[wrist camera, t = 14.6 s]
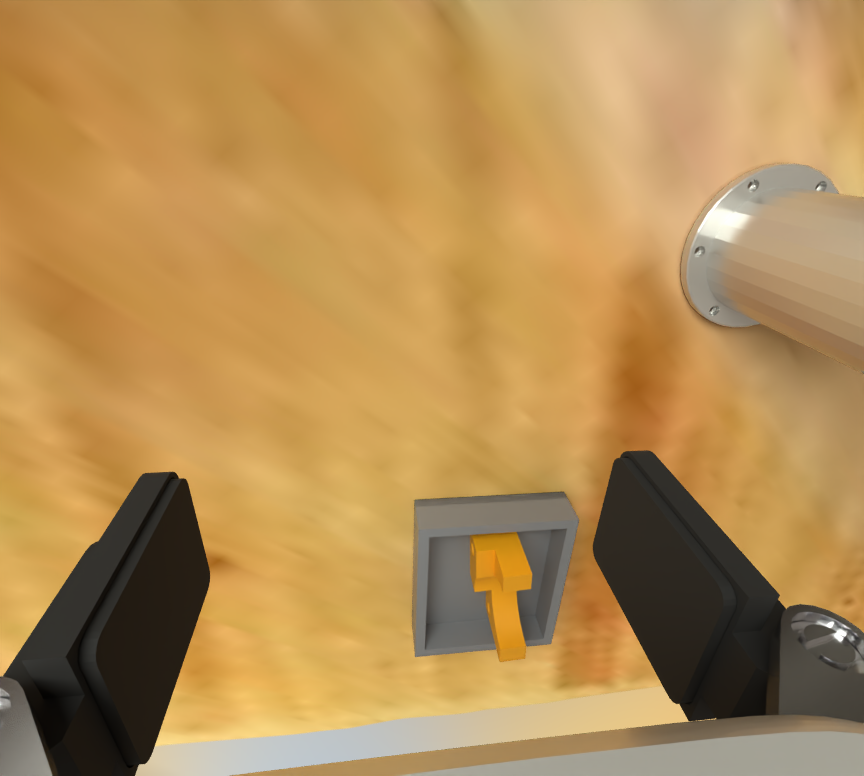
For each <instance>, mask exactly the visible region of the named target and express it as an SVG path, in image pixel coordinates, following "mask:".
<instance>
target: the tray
mask: <svg viewBox="0 0 864 776" xmlns="http://www.w3.org/2000/svg"><path fill="white" fill-rule="evenodd" d="M578 523H579V518H578V517H577V515H576V513H575V511H574V509H573V507H572V506H571V504H570V502H569V500H568V498H567V497H566V495H565V493H564V492H550V493H532V494H514V495H496V496H477V497H459V498H441V499H423V500H415V503H414V551H413V598H412V629H413V640H414V650H415V657H419V656H430V655H441V654H451V653H462V652H473V651H483V650H494V649H496V645H495V641H494V637H493V633H492V630H491V626H490V622H489V618H488V614H487V610H486V591H480V592H474V588H473V584H472V579H471V575H470V535H474V534H490V533H505V532H517V534H518V537H519V540H520V542H521V545H522V548H523V550H524V553H525V556H526V558H527V561H528V564H529V566H530V569H531V572H532V584H531V589H527V590H519V591H517V603H518V611H519V618H520V623H521V628H522V632H523V637H524V640H525V644H526V646H537V645H547V644H551V642H552V638H553V633H554V629H555V624H556V620H557V616H558V611H559V607H560V602H561V598H562V593H563V589H564V585H565V580H566V576H567V571H568V567H569V563H570V558H571V554H572V549H573V545H574V541H575V536H576V532H577V527H578Z"/></svg>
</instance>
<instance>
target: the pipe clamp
mask: <svg viewBox="0 0 864 776" xmlns="http://www.w3.org/2000/svg"><path fill="white" fill-rule="evenodd" d="M470 575H471V579H472V584H473V588H474V592H480V591H486V610H487V614H488V618H489V622H490V626H491V630H492V633H493V637H494V641H495V645H496V649H497V653H498V657H499V661H500V662H504V661H511V660H518V659H525V654H526V644H525V640H524V637H523V632H522V628H521V623H520V618H519V611H518V603H517V591H519V590H527V589H531V584H532V572H531V569H530V566H529V564H528V561H527V558H526V556H525V553H524V550H523V548H522V545H521V542H520V540H519V537H518V534H517V532H505V533H490V534H474V535H470Z"/></svg>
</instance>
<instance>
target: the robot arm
mask: <svg viewBox="0 0 864 776" xmlns="http://www.w3.org/2000/svg"><path fill="white" fill-rule="evenodd" d="M681 283H682V286H683V290H684V294H685V296H686V298H687V300H688V301H689V303H690V305H691V306H692V307H693V308H694V309H695V310H696V311H697V312H698V314H700V315H702V316H703V317H705V318H706V319H708V320H710V321H712V322H714V323H716V324H719V325H722V326H727V327H749V326H754V325H759V324H763V325H765V326H767V327H769V328H771V329H773V330H775V331H777V332H779V333H781V334H783V335H786V336H788V337H790V338H792V339H794V340H796V341H798V342H800V343H802V344H804V345H806V346H808V347H810V348H812V349H814V350H816V351H818V352H820V353H822V354H824V355H826V356H828V357H830V358H832V359H834V360H836V361H838V362H840V363H842V364H844V365H846V366H848V367H850V368H852V369H854V370H857V371H859V372H861V373H863V374H864V197H857V196H850V195H843V194H839V193H838V190H837V189H836V187H835V186H834V184H833V182H832V181H831V180H830V179H829V178H828V177H827V176H826V175H825V174H823V173H822V172H821V171H819V170H817V169H814V168H812V167H810V166H806V165H800V164H788V163H777V164H772V165H766V166H762V167H759V168H757V169H754V170H752V171H749V172H747V173H745V174H744V175H742V176H740V177H738V178H737V179H735V180H733V181H732V182H731V183H729V184H728V185H727V186H726V187H725V188H723V189H722V190H721V191H720V192H718V193H717V194H716V196H715V197H714V198H713V199H712V200H711V201H710V202H709V203H708V204H707V205H706V207H705V208H704V209H703V211H702V212H701V214H700V215H699V217H698V218H697V220H696V221H695V223H694V225H693V227H692V229H691V231H690V233H689V235H688V237H687V241H686V244H685V247H684V250H683V254H682V261H681ZM593 553H594V557H595V559H596V562H597V564H598V565H599V567H600V569H601V571H602V573H603V575H604V577H605V579H606V580H607V582H608V584H609V586H610V588H611V590H612V592H613V593H614V595H615V597H616V599H617V601H618V603H619V605H620V607H621V608H622V610H623V612H624V614H625V616H626V618H627V620H628V622H629V623H630V625H631V627H632V629H633V631H634V633H635V635H636V637H637V638H638V640H639V642H640V644H641V646H642V648H643V650H644V651H645V653H646V655H647V657H648V659H649V661H650V663H651V665H652V666H653V668H654V670H655V672H656V674H657V676H658V678H659V680H660V681H661V683H662V685H663V687H664V689H665V691H666V693H667V694H668V696H669V698H670V699H671V700H672V701H673V702H674V703H676V704H680V706H681V708H682V710H683V711H684V713H685V715H686V717H687V719H688V721H693V722H682V723H672V724H663V725H654V726H645V727H636V728H627V729H619V730H609V731H601V732H591V733H582V734H573V735H565V736H555V737H547V738H538V739H530V740H521V741H512V742H504V743H496V744H487V745H478V746H470V747H461V748H453V749H445V750H436V751H427V752H419V753H410V754H403V755H395V756H385V757H377V758H369V759H361V760H352V761H344V762H336V763H328V764H321V765H312V766H304V767H296V768H288V769H279V770H271V771H263V772H255V773H248V774H240V775H232V776H864V633H863V632H862V631H861V630H860V629H859V628H858V627H856V626H855V625H853V624H852V623H850V622H849V621H847V620H846V619H844V618H843V617H841V616H839V615H837V614H835V613H833V612H831V611H828V610H825V609H822V608H819V607H816V606H811V605H802V604H799V605H794V606H790V607H788V608H787V609H786V608H785V607H784V606H783V605H782V604H781V602H780V601H779V600H778V598H779V596H780V595H779V594H778V593H777V591H776V590H775V589H774V588H773V587H772V586H771V585H770V584H769V582H768V581H767V580H766V579H765V578H764V577H763V576H762V575H761V573H760V572H759V571H758V570H757V569H756V568H755V567H754V566H753V564H752V563H751V562H750V561H749V560H748V559H747V558H746V557H745V555H744V554H743V553H742V552H741V551H740V550H739V549H738V548H737V546H736V545H735V544H734V543H733V542H732V541H731V540H730V539H729V537H728V536H727V535H726V534H725V533H724V532H723V531H722V530H721V528H720V527H719V526H718V525H717V524H716V523H715V522H714V521H713V519H712V518H711V517H710V516H709V515H708V514H707V513H706V512H705V510H704V509H703V508H702V507H701V506H700V505H699V504H698V503H697V501H696V500H695V499H694V498H693V497H692V496H691V495H690V494H689V492H688V491H687V490H686V489H685V488H684V487H683V486H682V485H681V483H680V482H679V481H678V480H677V479H676V478H675V477H674V476H673V474H672V473H671V472H670V471H669V470H668V469H667V468H666V467H665V465H664V464H663V463H662V462H661V461H660V460H659V459H658V458H657V456H656V455H655V454H654V453H653V452H651V451H626V452H623V454H622V455H621V457H620V458H617V459H616V460H615V461H614V463H613V467H612V471H611V475H610V479H609V483H608V487H607V491H606V495H605V499H604V503H603V507H602V511H601V515H600V519H599V523H598V527H597V531H596V535H595V539H594V542H593ZM209 582H210V570H209V566H208V562H207V558H206V554H205V550H204V546H203V542H202V538H201V534H200V530H199V526H198V522H197V518H196V514H195V510H194V506H193V502H192V498H191V494H190V490H189V486H188V483H187V480H186V479H184V478H183V479H179V478H178V475H177V474H176V473H175V472H159V473H145V474H142V476H141V477H140V478H139V479H138V481H137V483H136V484H135V486H134V487H133V489H132V490H131V492H130V493H129V495H128V496H127V498H126V500H125V501H124V503H123V504H122V506H121V507H120V509H119V510H118V512H117V514H116V515H115V517H114V518H113V520H112V521H111V523H110V524H109V526H108V527H107V529H106V531H105V532H104V534H103V535H102V537H101V538H100V540H99V541H98V542H95V543H94V544H92V545H91V546H90V547H89V548H88V549H87V550H86V551H85V553H84V554H83V556H82V557H81V559H80V560H79V562H78V564H77V565H76V567H75V568H74V570H73V571H72V573H71V574H70V576H69V577H68V579H67V580H66V582H65V583H64V585H63V586H62V588H61V589H60V591H59V592H58V594H57V595H56V597H55V598H54V600H53V601H52V603H51V604H50V606H49V607H48V609H47V610H46V612H45V613H44V615H43V616H42V618H41V619H40V621H39V623H38V624H37V626H36V627H35V629H34V630H33V632H32V633H31V635H30V636H29V638H28V639H27V641H26V642H25V644H24V645H23V647H22V648H21V650H20V651H19V653H18V654H17V656H16V657H15V659H14V660H13V662H12V663H11V665H10V666H9V668H8V669H7V671H6V672H5V674H4V675H3V676H2V677H0V776H135V774H136V771H137V768H138V765H139V764H145V763H147V761H148V760H149V759H150V757H151V754H152V752H153V749H154V746H155V743H156V740H157V738H158V735H159V732H160V729H161V726H162V723H163V720H164V717H165V714H166V711H167V708H168V705H169V702H170V699H171V696H172V694H173V691H174V688H175V685H176V682H177V679H178V676H179V673H180V670H181V667H182V664H183V661H184V658H185V655H186V652H187V649H188V647H189V644H190V641H191V638H192V635H193V632H194V629H195V626H196V623H197V620H198V617H199V614H200V611H201V608H202V605H203V603H204V600H205V597H206V594H207V591H208V587H209ZM715 717H716V719H715V720H705V719H714V718H715ZM696 720H704V721H696Z"/></svg>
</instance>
